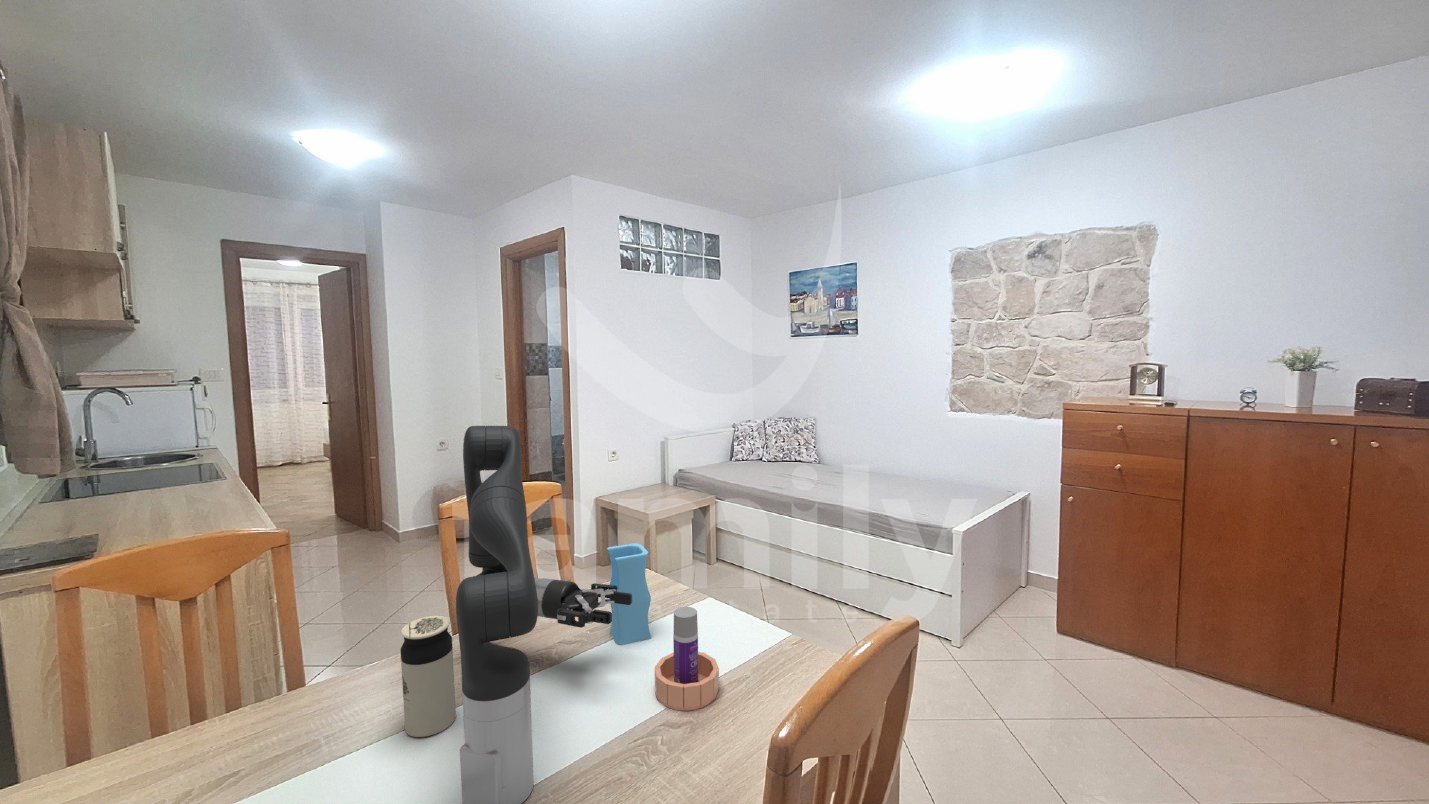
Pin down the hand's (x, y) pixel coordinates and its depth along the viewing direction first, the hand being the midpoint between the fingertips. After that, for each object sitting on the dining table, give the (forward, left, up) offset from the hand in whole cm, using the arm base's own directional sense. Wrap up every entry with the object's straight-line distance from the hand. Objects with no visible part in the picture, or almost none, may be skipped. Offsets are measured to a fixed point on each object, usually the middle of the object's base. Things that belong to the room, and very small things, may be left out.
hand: (621, 608), depth 108 cm
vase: (+16, +6, -15) cm, 23 cm away
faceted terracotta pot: (0, -14, -15) cm, 20 cm away
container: (0, -13, -14) cm, 19 cm away
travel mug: (-22, +26, -15) cm, 37 cm away
